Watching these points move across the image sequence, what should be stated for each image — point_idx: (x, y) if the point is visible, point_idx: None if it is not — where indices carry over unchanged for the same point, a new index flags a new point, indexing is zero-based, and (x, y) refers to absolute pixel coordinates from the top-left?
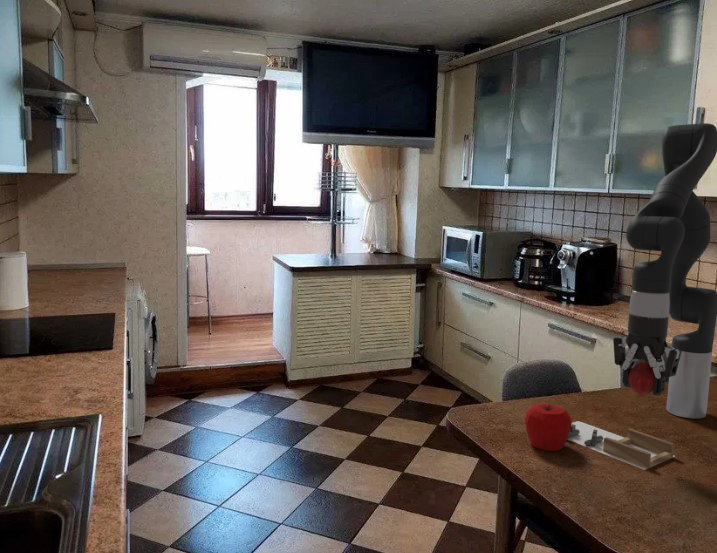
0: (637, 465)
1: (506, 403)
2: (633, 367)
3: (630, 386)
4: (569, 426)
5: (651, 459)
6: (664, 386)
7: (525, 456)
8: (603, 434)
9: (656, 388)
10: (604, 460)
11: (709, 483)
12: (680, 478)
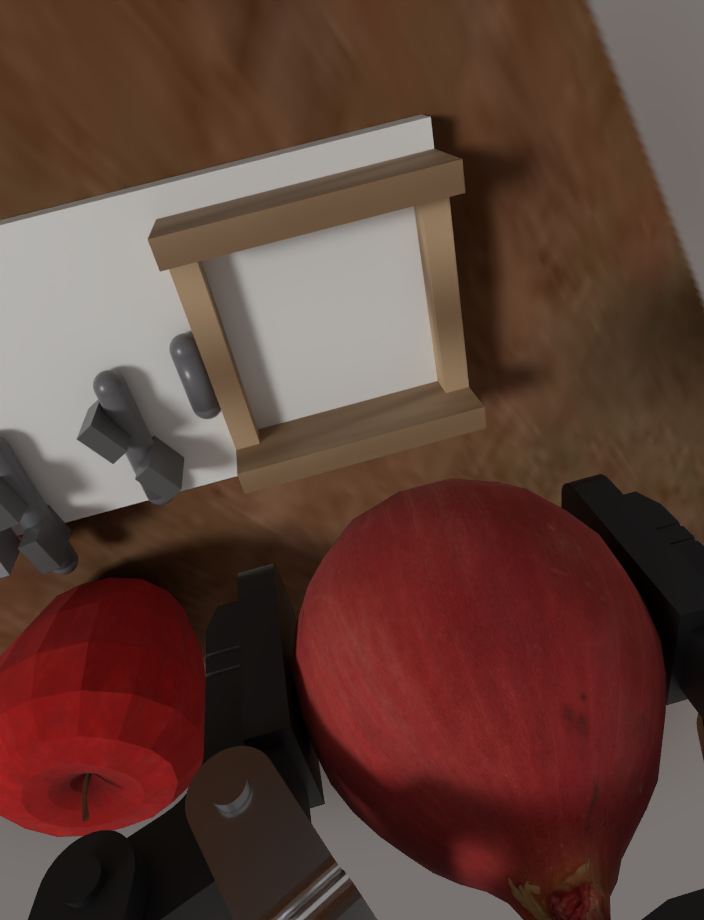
0: None
1: None
2: (408, 856)
3: (283, 586)
4: (195, 677)
5: (455, 363)
6: (690, 539)
7: None
8: (18, 299)
9: None
10: None
11: (651, 177)
12: (550, 270)
